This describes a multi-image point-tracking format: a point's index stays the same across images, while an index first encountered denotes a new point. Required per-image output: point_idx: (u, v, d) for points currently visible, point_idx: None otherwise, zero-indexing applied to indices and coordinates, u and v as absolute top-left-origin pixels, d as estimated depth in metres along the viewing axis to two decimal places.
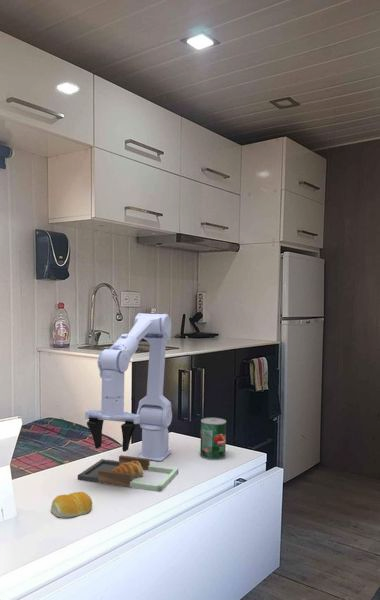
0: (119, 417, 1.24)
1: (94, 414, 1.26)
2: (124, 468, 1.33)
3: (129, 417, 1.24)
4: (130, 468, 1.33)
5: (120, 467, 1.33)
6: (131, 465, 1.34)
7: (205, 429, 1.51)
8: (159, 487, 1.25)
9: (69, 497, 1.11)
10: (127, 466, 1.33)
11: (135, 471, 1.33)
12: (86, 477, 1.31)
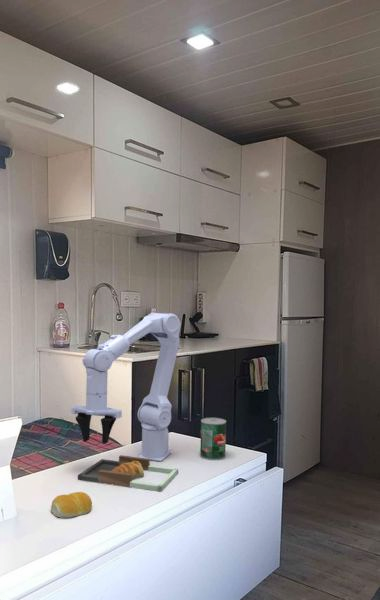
0: (102, 412, 1.35)
1: (79, 409, 1.37)
2: (125, 468, 1.33)
3: (111, 412, 1.35)
4: (131, 468, 1.33)
5: (121, 467, 1.33)
6: (132, 465, 1.34)
7: (205, 429, 1.51)
8: (159, 487, 1.25)
9: (69, 497, 1.11)
10: (128, 466, 1.33)
11: (135, 471, 1.33)
12: (86, 477, 1.31)
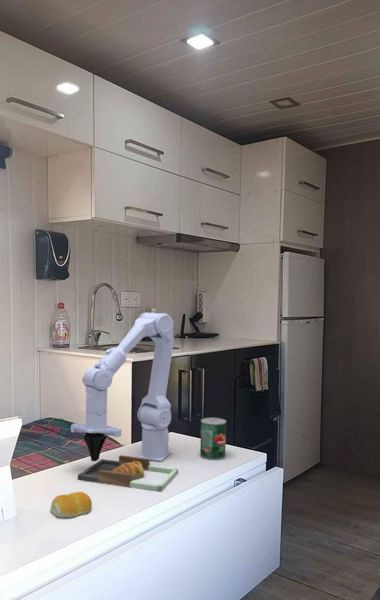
0: (101, 431, 1.35)
1: (79, 428, 1.37)
2: (125, 468, 1.32)
3: (111, 431, 1.35)
4: (131, 468, 1.33)
5: (121, 467, 1.33)
6: (132, 465, 1.34)
7: (205, 429, 1.51)
8: (159, 487, 1.25)
9: (69, 497, 1.11)
10: (128, 466, 1.33)
11: (136, 472, 1.33)
12: (86, 477, 1.31)
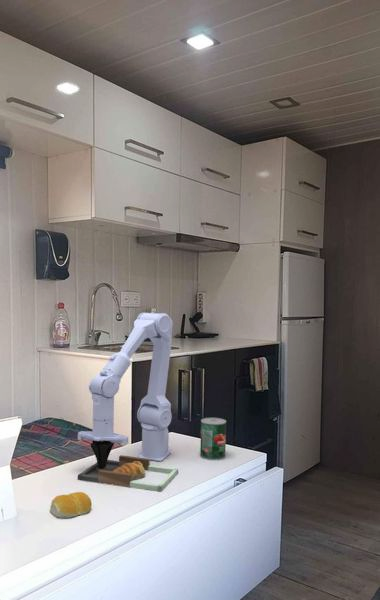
0: (109, 438, 1.34)
1: (86, 435, 1.36)
2: (126, 469, 1.32)
3: (118, 438, 1.34)
4: (132, 469, 1.32)
5: (122, 468, 1.33)
6: (133, 466, 1.34)
7: (205, 429, 1.51)
8: (159, 487, 1.25)
9: (68, 497, 1.11)
10: (129, 467, 1.33)
11: (137, 472, 1.33)
12: (86, 477, 1.31)
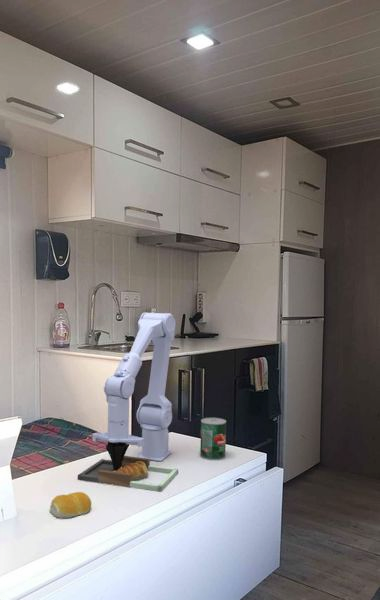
0: (124, 440, 1.33)
1: (101, 437, 1.35)
2: (129, 469, 1.32)
3: (133, 440, 1.33)
4: (135, 469, 1.32)
5: (125, 468, 1.32)
6: (136, 466, 1.33)
7: (205, 429, 1.51)
8: (159, 487, 1.25)
9: (68, 497, 1.11)
10: (132, 467, 1.33)
11: (140, 472, 1.32)
12: (86, 477, 1.31)
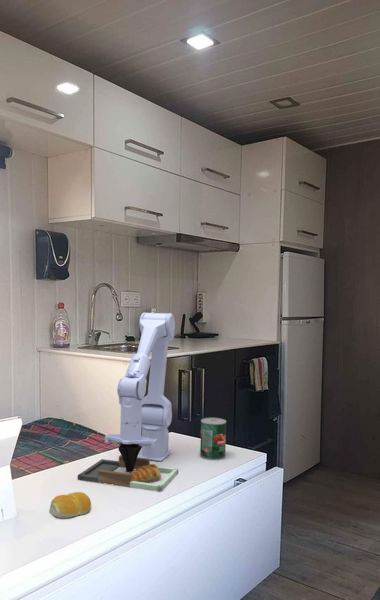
0: (137, 442, 1.32)
1: (113, 438, 1.34)
2: (142, 472, 1.30)
3: (147, 442, 1.32)
4: (148, 471, 1.30)
5: (138, 471, 1.31)
6: (149, 468, 1.32)
7: (205, 429, 1.51)
8: (159, 487, 1.25)
9: (68, 497, 1.11)
10: (145, 469, 1.31)
11: (153, 475, 1.31)
12: (86, 477, 1.31)
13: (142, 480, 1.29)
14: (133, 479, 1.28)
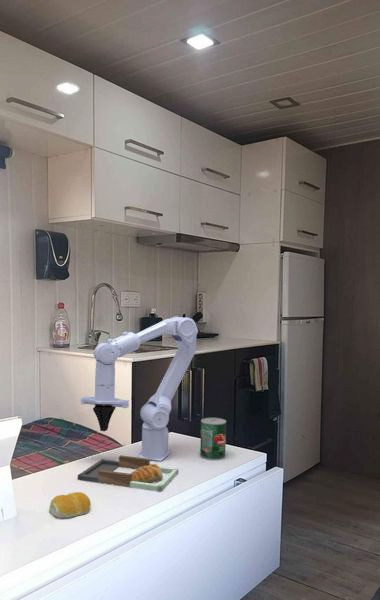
0: (110, 402, 1.43)
1: (88, 400, 1.45)
2: (144, 472, 1.30)
3: (119, 402, 1.43)
4: (150, 472, 1.30)
5: (139, 471, 1.31)
6: (150, 468, 1.32)
7: (205, 429, 1.51)
8: (159, 487, 1.25)
9: (67, 497, 1.11)
10: (147, 470, 1.31)
11: (154, 475, 1.31)
12: (86, 477, 1.31)
13: (143, 480, 1.29)
14: (135, 479, 1.28)
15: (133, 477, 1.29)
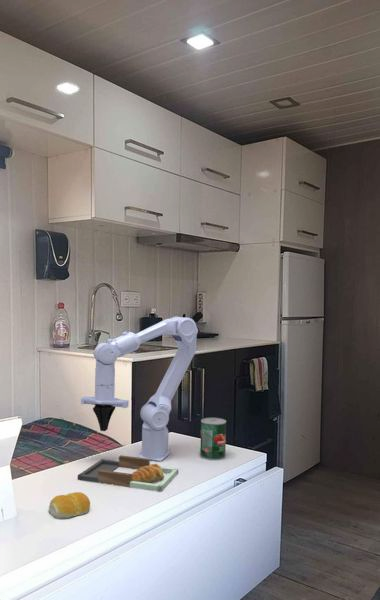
0: (110, 402, 1.43)
1: (88, 400, 1.45)
2: (145, 472, 1.30)
3: (119, 402, 1.43)
4: (151, 471, 1.30)
5: (141, 471, 1.31)
6: (152, 468, 1.32)
7: (205, 429, 1.51)
8: (159, 487, 1.25)
9: (67, 497, 1.11)
10: (148, 470, 1.31)
11: (156, 475, 1.31)
12: (86, 477, 1.31)
13: (145, 480, 1.29)
14: (136, 479, 1.28)
15: (135, 477, 1.28)
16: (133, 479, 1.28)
